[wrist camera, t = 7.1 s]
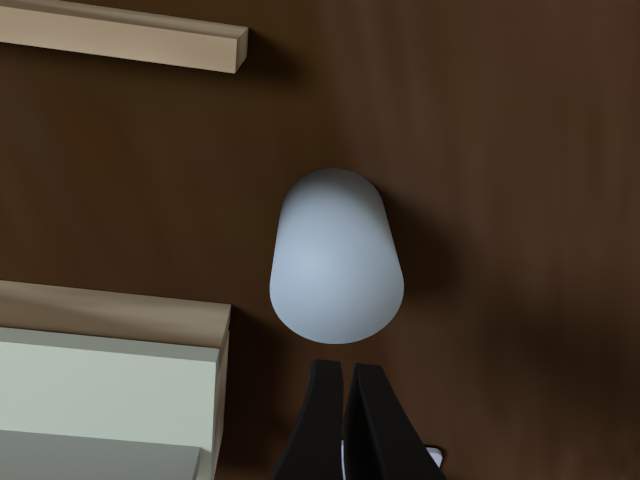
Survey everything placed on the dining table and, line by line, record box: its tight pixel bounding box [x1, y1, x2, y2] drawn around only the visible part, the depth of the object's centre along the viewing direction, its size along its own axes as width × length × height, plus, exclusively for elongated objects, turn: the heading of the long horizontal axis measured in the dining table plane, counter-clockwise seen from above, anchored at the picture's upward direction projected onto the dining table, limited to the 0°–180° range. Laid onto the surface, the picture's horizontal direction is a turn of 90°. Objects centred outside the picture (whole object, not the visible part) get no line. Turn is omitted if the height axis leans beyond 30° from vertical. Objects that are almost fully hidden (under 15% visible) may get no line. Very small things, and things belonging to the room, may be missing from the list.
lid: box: [0, 327, 219, 480], centre depth 21 cm, size 10×14×4 cm
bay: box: [0, 0, 248, 480], centre depth 21 cm, size 20×15×3 cm
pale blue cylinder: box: [270, 168, 404, 344], centre depth 19 cm, size 4×4×6 cm
